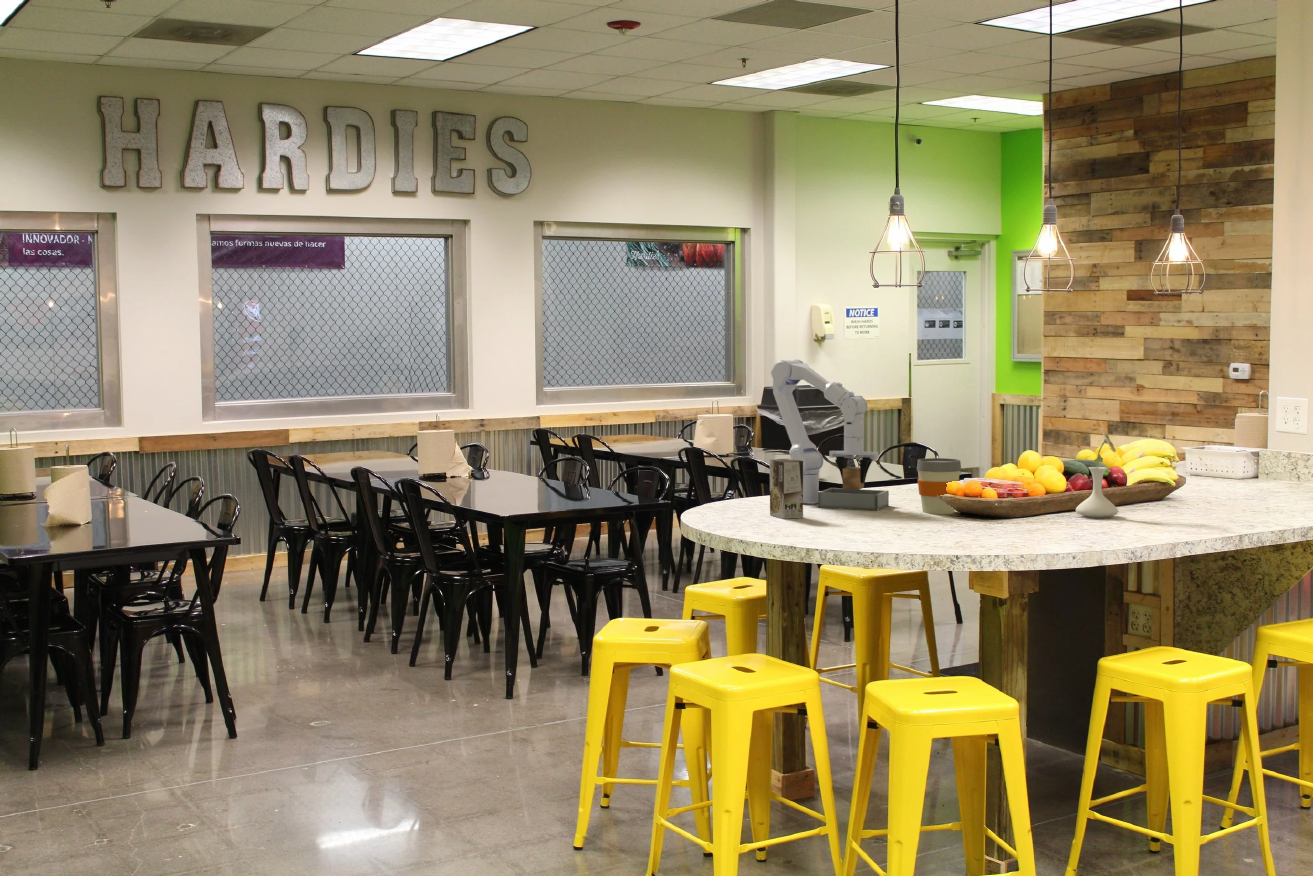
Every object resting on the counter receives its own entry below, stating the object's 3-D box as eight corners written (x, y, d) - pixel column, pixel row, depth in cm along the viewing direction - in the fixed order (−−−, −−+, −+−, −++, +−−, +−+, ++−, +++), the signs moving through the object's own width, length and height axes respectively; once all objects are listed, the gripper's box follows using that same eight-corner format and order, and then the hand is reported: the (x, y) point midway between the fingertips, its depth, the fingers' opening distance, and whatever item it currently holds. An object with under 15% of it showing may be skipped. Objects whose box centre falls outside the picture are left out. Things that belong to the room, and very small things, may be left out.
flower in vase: (1110, 520, 370) (1112, 429, 368) (1069, 517, 376) (1071, 428, 375) (1125, 515, 380) (1127, 426, 378) (1085, 512, 387) (1087, 425, 385)
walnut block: (842, 488, 400) (842, 468, 400) (847, 486, 405) (847, 466, 404) (859, 489, 398) (858, 469, 398) (863, 487, 403) (863, 467, 402)
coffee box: (804, 518, 379) (804, 460, 378) (783, 519, 376) (783, 461, 375) (789, 514, 387) (789, 457, 386) (768, 515, 385) (768, 458, 384)
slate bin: (818, 507, 401) (818, 492, 400) (830, 502, 412) (830, 488, 411) (877, 510, 393) (877, 495, 393) (888, 505, 404) (888, 490, 404)
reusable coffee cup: (964, 514, 383) (965, 462, 382) (920, 515, 383) (920, 462, 382) (955, 509, 396) (956, 458, 394) (912, 509, 396) (913, 458, 395)
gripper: (826, 437, 400) (826, 482, 401) (873, 438, 394) (873, 484, 395) (833, 435, 407) (833, 480, 408) (880, 436, 400) (880, 482, 401)
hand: (853, 482), depth 402 cm, fingers closed on walnut block, 5 cm apart
